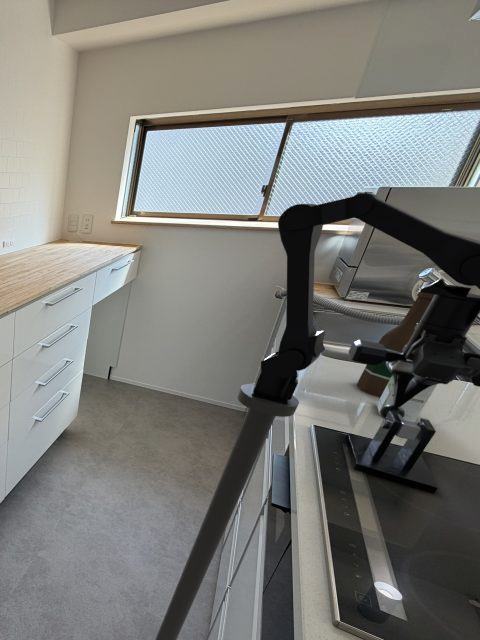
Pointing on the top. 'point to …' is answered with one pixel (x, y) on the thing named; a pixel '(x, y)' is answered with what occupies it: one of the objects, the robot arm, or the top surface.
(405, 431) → the lever
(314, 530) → the top surface
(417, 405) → the syrup box
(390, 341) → the beer bottle
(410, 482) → the black two-post stand
